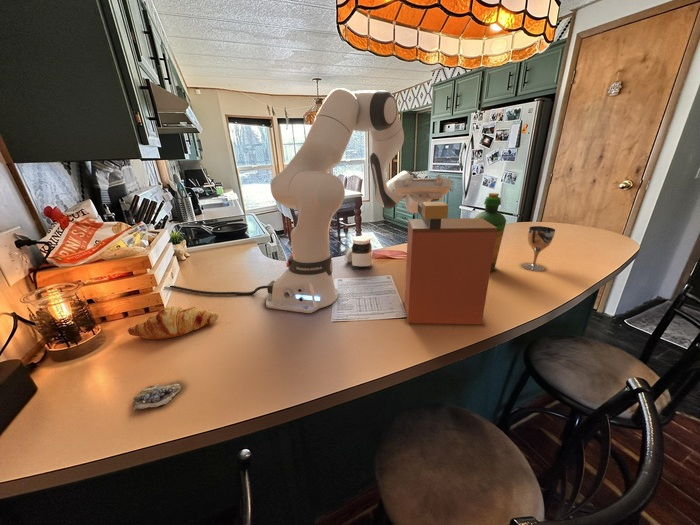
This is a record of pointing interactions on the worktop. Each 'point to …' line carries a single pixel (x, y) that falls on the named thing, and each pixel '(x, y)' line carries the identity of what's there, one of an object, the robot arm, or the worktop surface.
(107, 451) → the worktop surface
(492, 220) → the bottle
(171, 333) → the croissant
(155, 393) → the crystal geode
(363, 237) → the spread jar
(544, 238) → the silver goblet
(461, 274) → the stand
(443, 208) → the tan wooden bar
